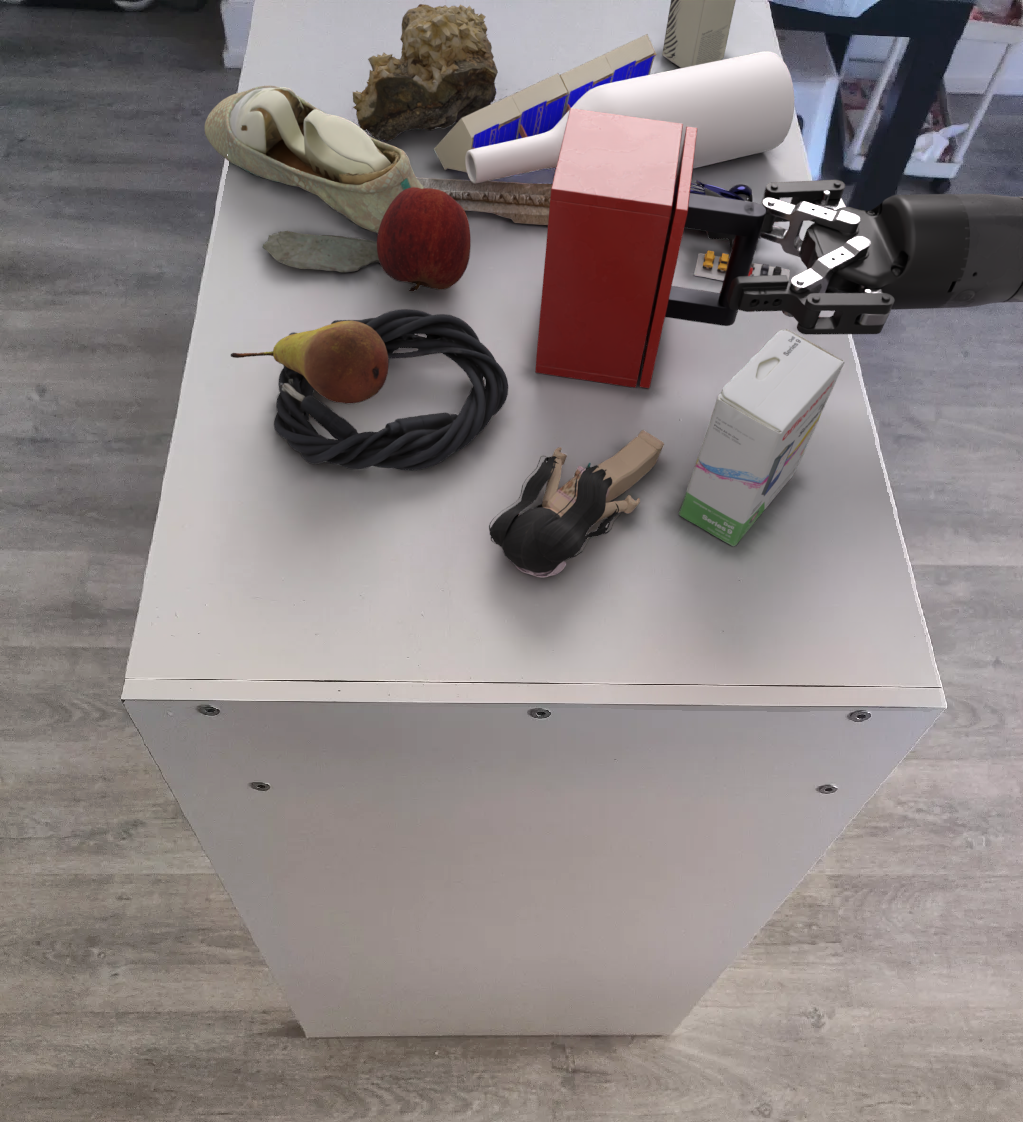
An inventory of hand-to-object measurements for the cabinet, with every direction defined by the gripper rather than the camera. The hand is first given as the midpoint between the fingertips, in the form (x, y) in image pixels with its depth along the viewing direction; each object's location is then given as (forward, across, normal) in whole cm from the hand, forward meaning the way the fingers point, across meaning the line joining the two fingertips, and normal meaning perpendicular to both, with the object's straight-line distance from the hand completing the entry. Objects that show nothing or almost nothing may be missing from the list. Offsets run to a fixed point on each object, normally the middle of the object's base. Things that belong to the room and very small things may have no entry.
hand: (719, 257), depth 71 cm
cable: (+23, +3, +11) cm, 26 cm away
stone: (+27, -18, +11) cm, 35 cm away
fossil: (+13, -22, +11) cm, 28 cm away
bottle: (-13, -31, +7) cm, 35 cm away
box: (-9, -46, +11) cm, 48 cm away
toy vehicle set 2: (-7, -13, +11) cm, 18 cm away
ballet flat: (+28, -27, +10) cm, 40 cm away
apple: (+20, -12, +11) cm, 26 cm away
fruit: (+24, +6, +4) cm, 25 cm away
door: (0, -3, +11) cm, 11 cm away
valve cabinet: (+7, -5, +11) cm, 14 cm away
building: (+8, -34, +7) cm, 36 cm away
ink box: (-1, +12, +11) cm, 17 cm away
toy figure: (+11, +13, +11) cm, 20 cm away
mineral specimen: (+19, -37, +11) cm, 43 cm away
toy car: (-4, -19, +11) cm, 22 cm away
